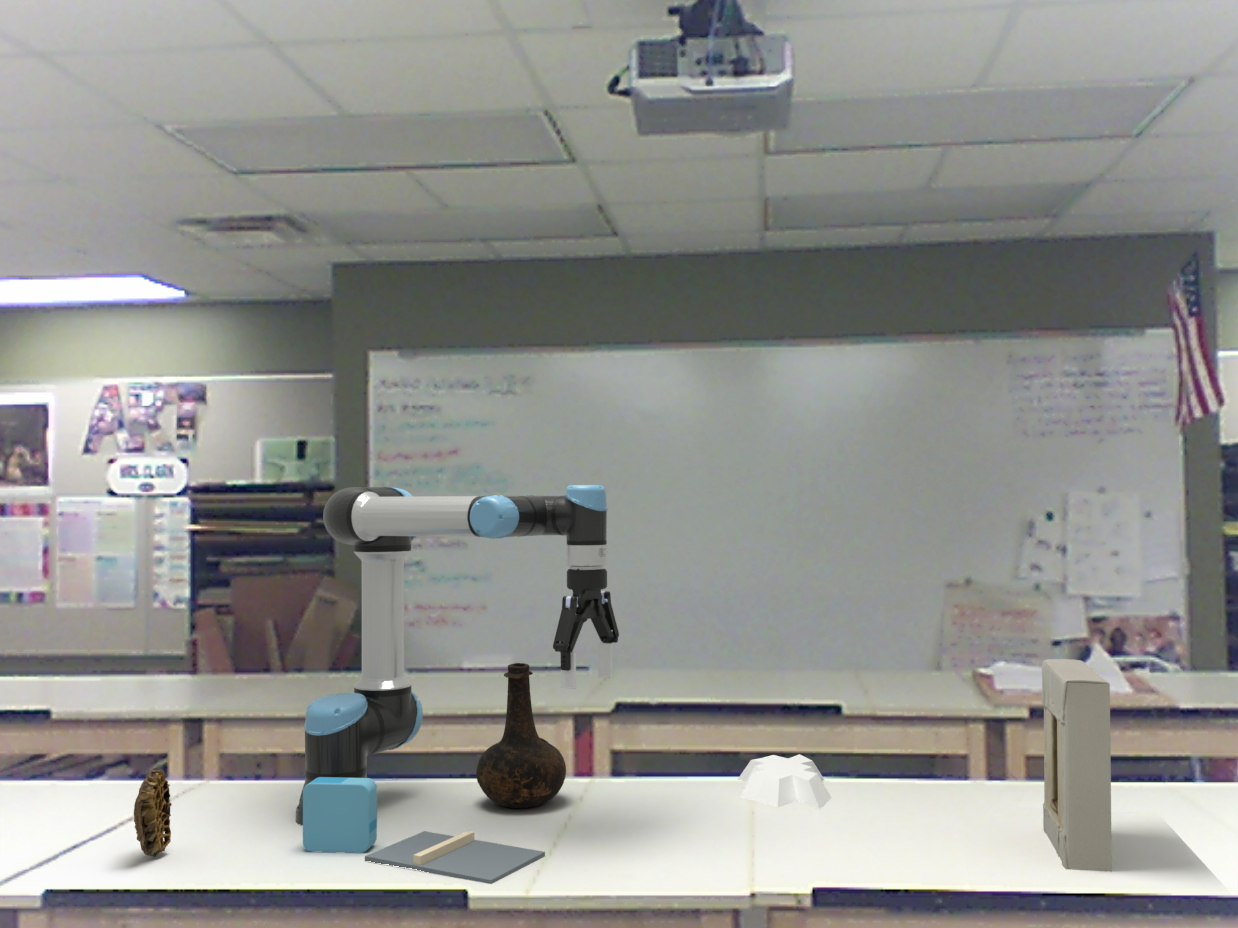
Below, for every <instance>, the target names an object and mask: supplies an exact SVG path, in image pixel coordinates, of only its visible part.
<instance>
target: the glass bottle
mask: <svg viewBox="0 0 1238 928" xmlns="http://www.w3.org/2000/svg"><path fill="white" fill-rule="evenodd" d="M532 675H533V672H532V671H531V670H530V664H528V663H523V662H514V663H510V664H508V665H507V672H505V673H504V674H503V677H505V678H506V679H507V695H506V696H507V700H506V715H505V723H504V730H503V733H502V737H501V738H500V741H498V742H496V743H495V744H492V745H491V746H489V747H487V748H486V749H485V751H484V752H483V753H482V755H480V758H479V760H478V762H477V765H476V772H475V774H476V775H475V777H476V782H477V783H478V785H479V787H480V789H481V790H482V792H483V793H484V796H485V795H486V797H487V798H488V799H489V800H490V801H491V802H493V803H494V804H496V805H499V806H501V807H505V808H513V809H526V808H527V809H528V808H534V807H538V806H542V805H544V804H547V803H549V802H550V801H551V800H552V799H553V798H555V797H556V795H558V794H559V792H560V791H561V789H562V787H563V785H564V783H565V780H566V776H567V765H566V761H565V759H564V756H563V754H562V753H561V751H560V750H559V749H558V748H557V747H556V746H554V744H551V743H550V742H549V741H547V740H545V739H544V738H543V737H542V738H541V737H540V735H539V734H538V732H537V729H536V724H535V720H534V715H533V714H534V713H533V705H532V698H531V697H532V695H531V686H530V685H531V684H530V683H531V681H530V676H532Z"/></svg>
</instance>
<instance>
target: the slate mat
mask: <svg viewBox="0 0 1238 928" xmlns="http://www.w3.org/2000/svg"><path fill="white" fill-rule="evenodd" d="M544 857H546V852H545V851H542V850H536V849H532V848H525V847H519V846H515V845H508V844H502V843H497V842H496V843H495V842H489V841H484V840H479V839H475V831H470V830H466V831H464V832H461V833H460V834H456V835H448V834H445V833H444V834H443V833H437V832H432V831H425V830H423V831H421V832H419V833H417V834H413V835H412V836H410V837H407V838H405V839H402V840H400V841H398V842H395V843H393V844H390V845H389V846H385V847H384V848H380V849H378V850H375V851H374V852H371V853H370V854H367V855H364V862H365V861H371V862H375V863H374V864H377V863H381V864H380V865H382V864H389V865H394V866H399V867H406V868H412V869H417V870H421V871H424V872H423V873H427V872H429V873H428V874H433V875H439V876H444V877H451V878H454V879H455V878H456V879H461V880H468V881H472V882H479V883H483V884H490V885H492V884H493V883H496V882H497V881H500V880H502V879H503V878H505V877H507V876H509V875H511V874H513V873H515V872H517V871H518V870H521V869H523V868H525V867H526V866H528V865H530V864H533V863H534V862H537V861H538V860H540V859H542V858H544ZM371 862H370V863H371ZM399 867H398V868H399ZM421 871H420V872H421Z"/></svg>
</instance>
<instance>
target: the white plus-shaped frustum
mask: <svg viewBox="0 0 1238 928" xmlns="http://www.w3.org/2000/svg"><path fill="white" fill-rule="evenodd" d="M737 780H740V781H744V785H743V787H742V789H743V790H742V793H741V794H740V797H739V798H740V799H744V800H749V801H752V802H757V803H761V804H763V805H764V804H765V805H767V806H770V807H775V808H780V807H784V806H787V805H790V804H793V803H796V802H798V801H799V803H801V802H802V804H803V803H805V804H804V805H806V804H808V805H807V806H809V805H810V806H809V807H812V806H813V807H812V808H814V807H816V808H815V809H817V808H819V809H818V810H821V809H822V808H824V807H825V805H827V804H828V803H829V802H830V801H831V800H832V799H831V798H832V796H831V794H830V793H829V791H828V789H827V787H826V786H825V784H824V782H823V781H825V778H824V777H823V775H822V773H821V772H820V770H819V769H818V767H817V765H816V764H815V762H814V761H813V760H812V759H810V758H808V757H806V756H804V755H802V754H800V753H799V754H797V755H794V756H791V757H788V758H787V757H783V756H778V755H776V754H771V755H769V756H764V757H759V758H755V759H754V758H753V759H750V760H749V762H748V764H747V765H746V766H745V768H744V769H743V771H742V772H741V773H740V775H739V777H738V778H737ZM830 799H831V800H830ZM829 800H830V801H829ZM795 801H796V802H795ZM828 801H829V802H828ZM792 802H793V803H792ZM827 802H828V803H827ZM789 803H790V804H789ZM826 803H827V804H826ZM786 804H787V805H786ZM824 804H825V805H824ZM821 807H822V808H821ZM820 808H821V809H820Z"/></svg>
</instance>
